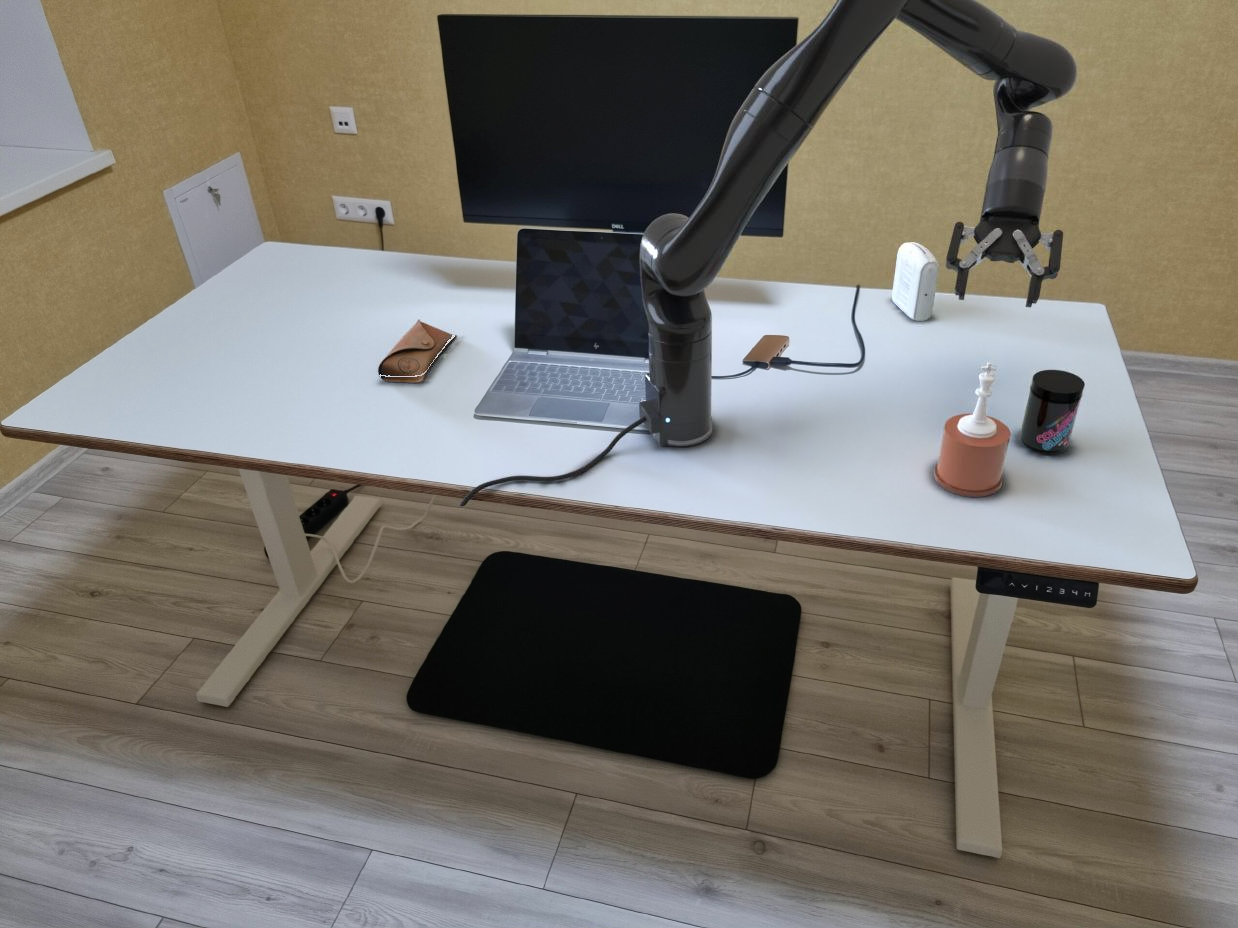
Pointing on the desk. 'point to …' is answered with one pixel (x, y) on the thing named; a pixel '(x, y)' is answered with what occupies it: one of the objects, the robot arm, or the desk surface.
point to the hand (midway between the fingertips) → (994, 301)
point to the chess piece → (980, 409)
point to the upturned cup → (971, 460)
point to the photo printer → (915, 281)
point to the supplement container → (1051, 411)
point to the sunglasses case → (414, 354)
